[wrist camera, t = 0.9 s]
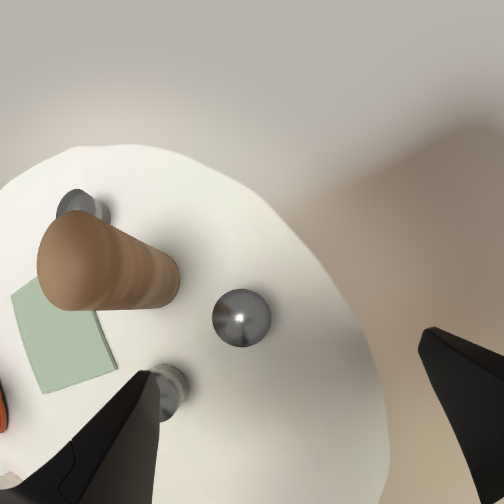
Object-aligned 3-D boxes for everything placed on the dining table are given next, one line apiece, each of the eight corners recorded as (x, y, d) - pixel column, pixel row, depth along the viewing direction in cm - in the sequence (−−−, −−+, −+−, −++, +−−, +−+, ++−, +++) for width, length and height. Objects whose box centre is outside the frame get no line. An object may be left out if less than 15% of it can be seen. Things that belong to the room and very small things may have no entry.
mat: (45, 393, 21) (42, 394, 20) (13, 296, 23) (10, 295, 22) (118, 368, 22) (115, 369, 21) (77, 252, 24) (73, 251, 23)
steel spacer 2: (159, 410, 21) (143, 427, 17) (139, 372, 22) (119, 383, 18) (196, 398, 21) (185, 415, 17) (175, 358, 22) (160, 368, 18)
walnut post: (140, 317, 23) (50, 324, 11) (121, 265, 23) (30, 237, 12) (189, 294, 23) (122, 286, 11) (167, 242, 24) (94, 192, 12)
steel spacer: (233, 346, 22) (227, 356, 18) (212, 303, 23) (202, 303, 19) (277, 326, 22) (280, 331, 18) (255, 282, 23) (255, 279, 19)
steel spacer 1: (83, 248, 24) (60, 240, 20) (76, 214, 24) (53, 202, 20) (114, 230, 24) (92, 218, 20) (105, 196, 25) (84, 181, 21)
